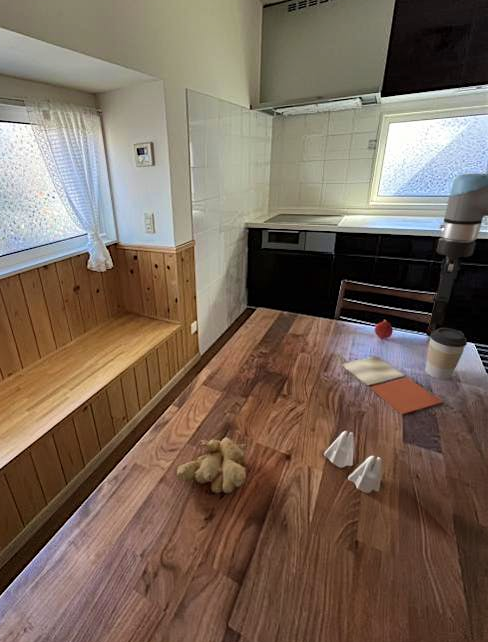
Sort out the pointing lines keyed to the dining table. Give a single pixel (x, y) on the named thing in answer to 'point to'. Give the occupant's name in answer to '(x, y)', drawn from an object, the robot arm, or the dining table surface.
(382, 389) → the terracotta mat
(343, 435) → the shaker set
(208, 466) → the ginger root
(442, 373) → the coffee cup
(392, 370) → the cream mat
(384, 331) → the onion
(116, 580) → the dining table surface
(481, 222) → the robot arm
